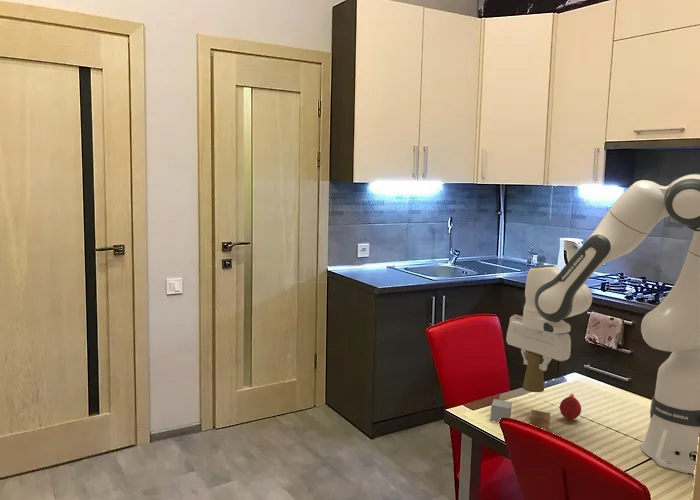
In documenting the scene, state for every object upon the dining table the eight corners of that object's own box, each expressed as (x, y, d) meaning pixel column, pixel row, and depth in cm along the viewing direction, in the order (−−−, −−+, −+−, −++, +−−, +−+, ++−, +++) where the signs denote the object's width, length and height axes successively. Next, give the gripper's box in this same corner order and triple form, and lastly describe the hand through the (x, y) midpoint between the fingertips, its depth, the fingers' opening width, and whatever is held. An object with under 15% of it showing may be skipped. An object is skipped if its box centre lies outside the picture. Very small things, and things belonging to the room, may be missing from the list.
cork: (546, 392, 170) (550, 355, 168) (525, 391, 170) (528, 354, 168) (540, 385, 176) (543, 349, 174) (520, 384, 176) (522, 348, 174)
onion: (581, 426, 168) (584, 399, 167) (560, 423, 169) (563, 396, 168) (577, 418, 174) (580, 391, 172) (557, 415, 175) (560, 389, 174)
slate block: (510, 418, 171) (511, 402, 170) (508, 425, 166) (509, 408, 165) (492, 415, 172) (494, 398, 172) (490, 421, 168) (491, 404, 167)
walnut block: (548, 430, 164) (550, 413, 164) (547, 437, 160) (549, 419, 159) (529, 426, 166) (531, 409, 165) (528, 433, 161) (530, 416, 161)
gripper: (503, 313, 177) (500, 359, 179) (561, 329, 160) (557, 379, 162) (517, 312, 181) (514, 356, 182) (576, 327, 164) (571, 376, 165)
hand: (535, 367), depth 172 cm, fingers closed on cork, 4 cm apart
